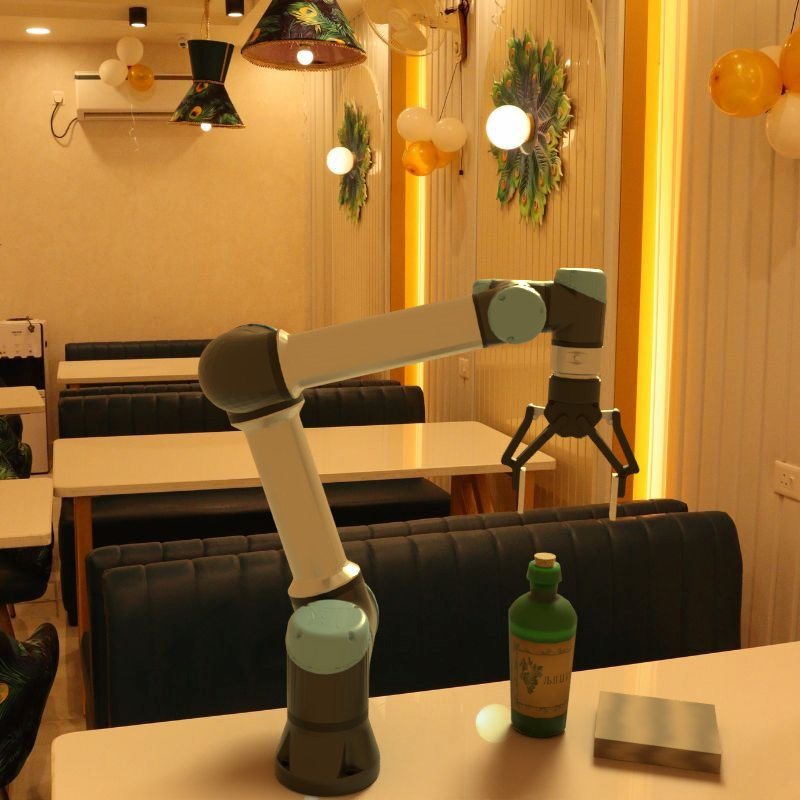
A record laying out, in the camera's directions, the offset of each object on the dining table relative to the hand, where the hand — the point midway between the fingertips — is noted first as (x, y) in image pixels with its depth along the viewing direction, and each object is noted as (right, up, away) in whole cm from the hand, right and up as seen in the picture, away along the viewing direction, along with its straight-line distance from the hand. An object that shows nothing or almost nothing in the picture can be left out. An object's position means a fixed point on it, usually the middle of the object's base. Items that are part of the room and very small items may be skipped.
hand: (566, 514), depth 150 cm
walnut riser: (+15, -35, +4) cm, 38 cm away
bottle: (-3, -34, +8) cm, 36 cm away
